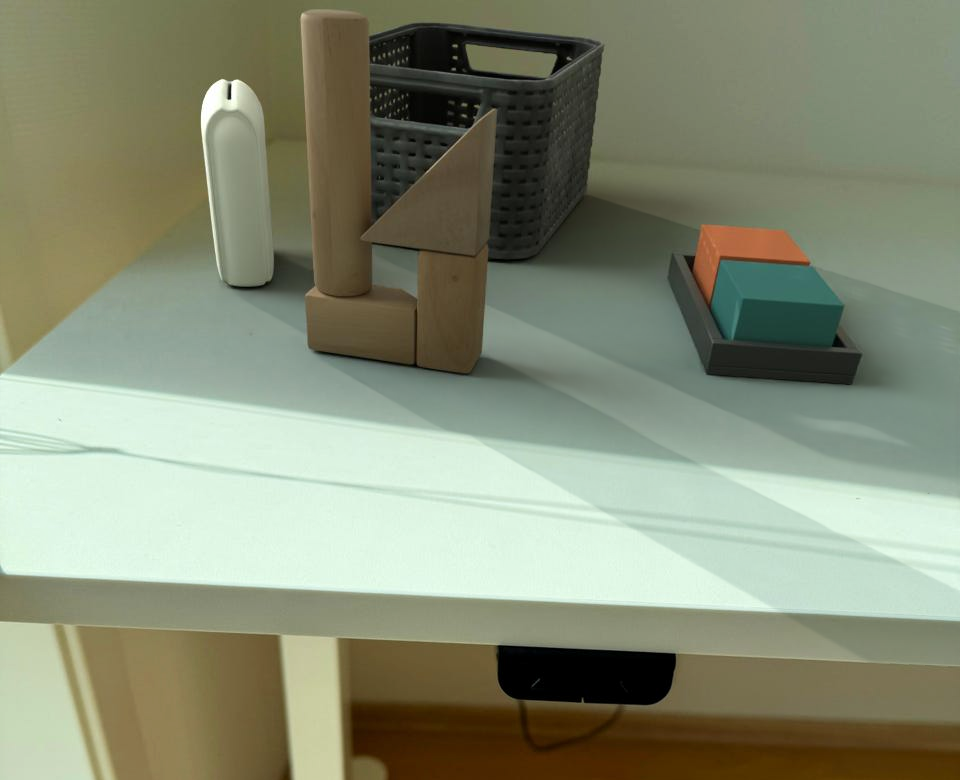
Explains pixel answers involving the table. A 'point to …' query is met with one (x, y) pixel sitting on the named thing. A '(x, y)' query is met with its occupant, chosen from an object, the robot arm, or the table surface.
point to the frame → (756, 356)
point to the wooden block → (389, 219)
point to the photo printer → (238, 183)
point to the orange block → (740, 252)
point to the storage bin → (519, 125)
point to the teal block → (774, 304)
